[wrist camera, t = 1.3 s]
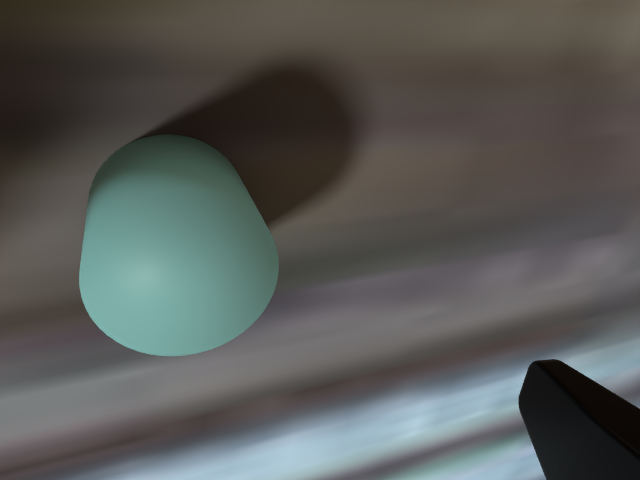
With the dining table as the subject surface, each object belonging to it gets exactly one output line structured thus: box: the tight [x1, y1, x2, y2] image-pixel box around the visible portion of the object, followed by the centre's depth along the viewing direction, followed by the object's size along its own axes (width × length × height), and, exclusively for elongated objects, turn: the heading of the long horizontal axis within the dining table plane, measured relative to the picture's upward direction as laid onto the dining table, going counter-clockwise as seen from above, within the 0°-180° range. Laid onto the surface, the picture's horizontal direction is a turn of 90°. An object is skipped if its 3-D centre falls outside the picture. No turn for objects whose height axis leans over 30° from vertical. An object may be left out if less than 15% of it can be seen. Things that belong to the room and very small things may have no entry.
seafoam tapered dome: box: [79, 134, 279, 356], centre depth 17 cm, size 6×6×5 cm
